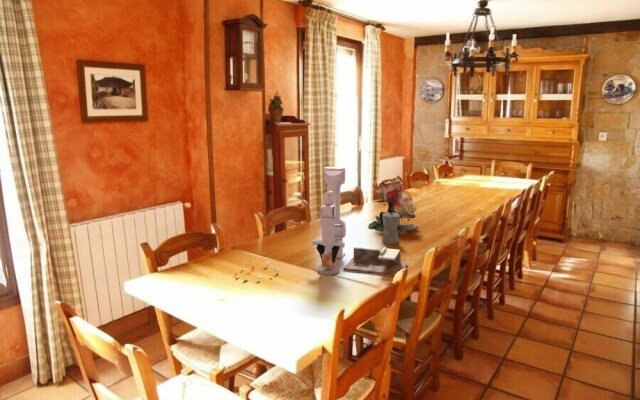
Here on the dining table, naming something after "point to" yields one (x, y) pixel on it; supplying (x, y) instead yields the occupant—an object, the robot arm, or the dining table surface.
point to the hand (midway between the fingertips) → (328, 261)
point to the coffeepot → (390, 227)
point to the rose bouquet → (395, 205)
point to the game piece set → (259, 276)
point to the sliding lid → (388, 254)
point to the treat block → (327, 260)
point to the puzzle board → (374, 263)
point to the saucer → (328, 270)
